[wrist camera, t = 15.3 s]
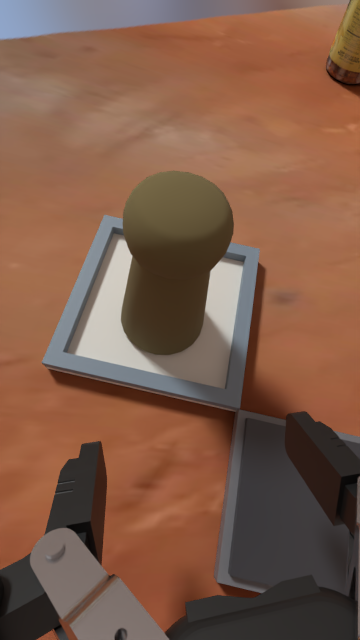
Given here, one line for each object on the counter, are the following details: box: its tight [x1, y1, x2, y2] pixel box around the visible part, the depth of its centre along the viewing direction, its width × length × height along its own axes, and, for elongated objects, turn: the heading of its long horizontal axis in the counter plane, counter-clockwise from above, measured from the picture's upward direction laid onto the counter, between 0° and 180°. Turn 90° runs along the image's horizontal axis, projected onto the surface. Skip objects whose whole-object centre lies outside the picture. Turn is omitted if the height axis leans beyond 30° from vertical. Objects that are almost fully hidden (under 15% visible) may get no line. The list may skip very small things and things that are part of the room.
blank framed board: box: [42, 215, 260, 412], centre depth 24 cm, size 13×13×1 cm
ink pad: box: [214, 409, 360, 595], centre depth 19 cm, size 9×9×2 cm
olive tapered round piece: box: [121, 171, 234, 355], centre depth 18 cm, size 6×6×11 cm
